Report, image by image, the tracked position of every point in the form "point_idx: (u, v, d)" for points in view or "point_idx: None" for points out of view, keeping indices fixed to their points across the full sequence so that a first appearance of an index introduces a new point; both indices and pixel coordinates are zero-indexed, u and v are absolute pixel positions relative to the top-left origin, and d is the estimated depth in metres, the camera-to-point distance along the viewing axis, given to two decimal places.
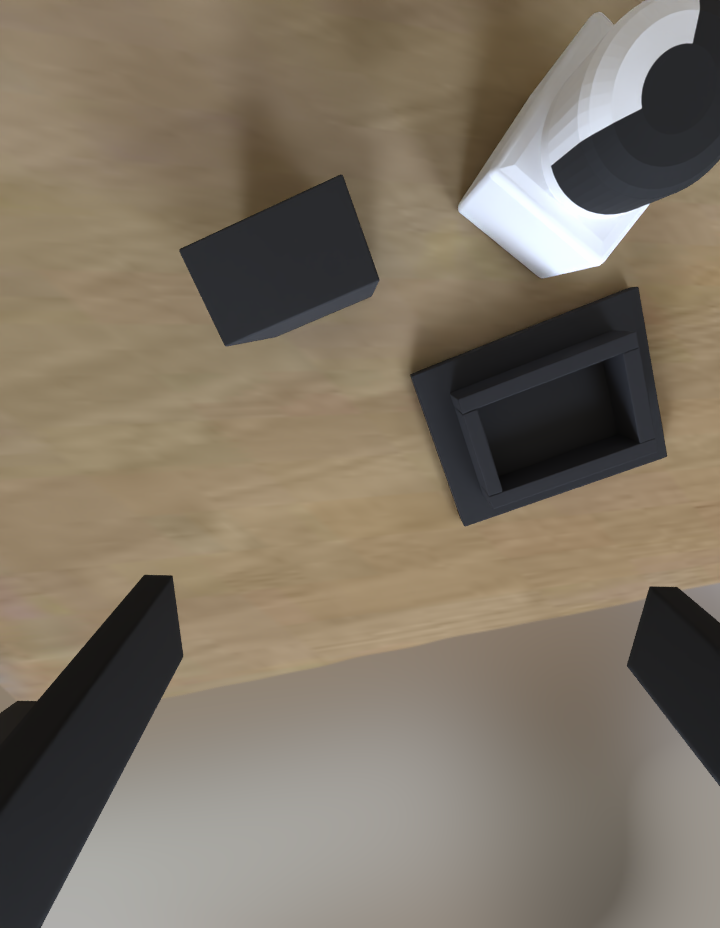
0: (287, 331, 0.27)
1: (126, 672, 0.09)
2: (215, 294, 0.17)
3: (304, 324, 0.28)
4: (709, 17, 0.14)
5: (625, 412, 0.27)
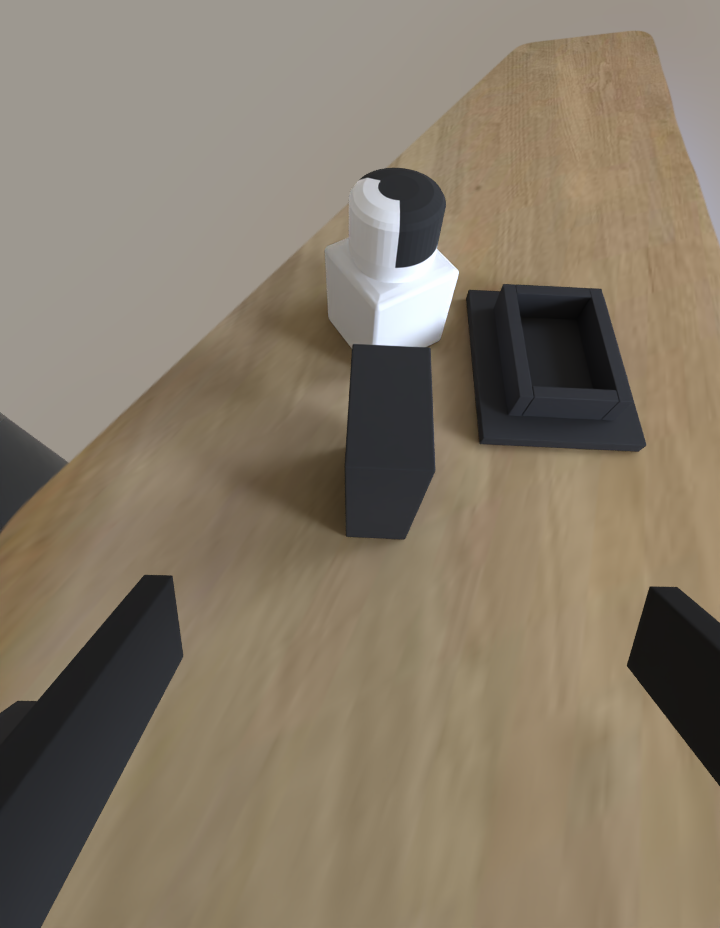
0: None
1: (126, 672, 0.09)
2: (390, 457, 0.19)
3: None
4: (372, 175, 0.26)
5: (561, 305, 0.35)
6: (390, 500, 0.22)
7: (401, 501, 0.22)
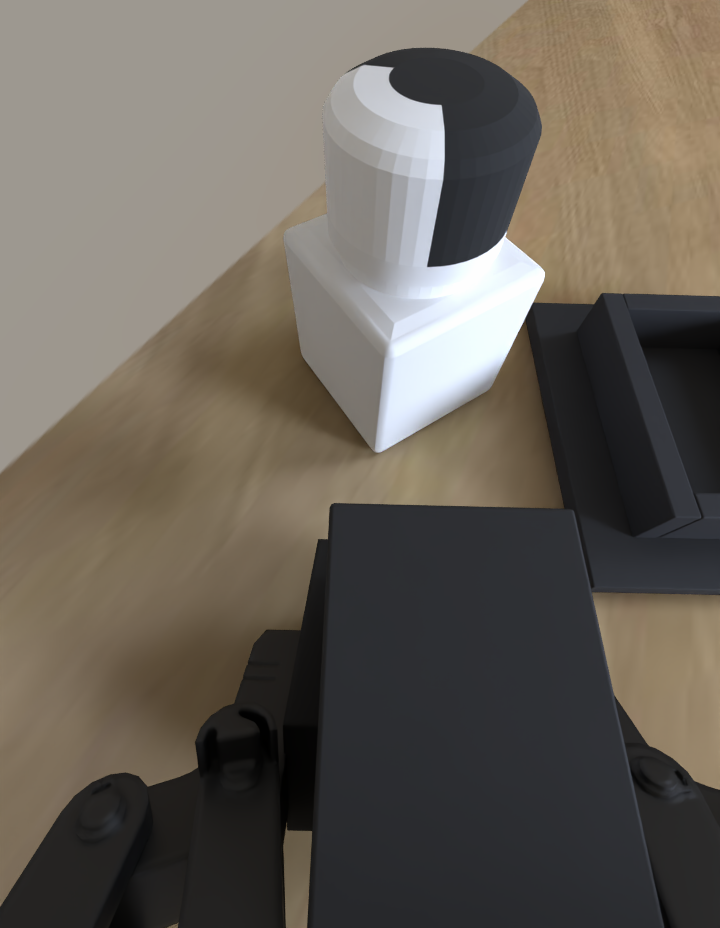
0: None
1: None
2: None
3: None
4: (375, 59, 0.12)
5: (700, 326, 0.20)
6: None
7: None
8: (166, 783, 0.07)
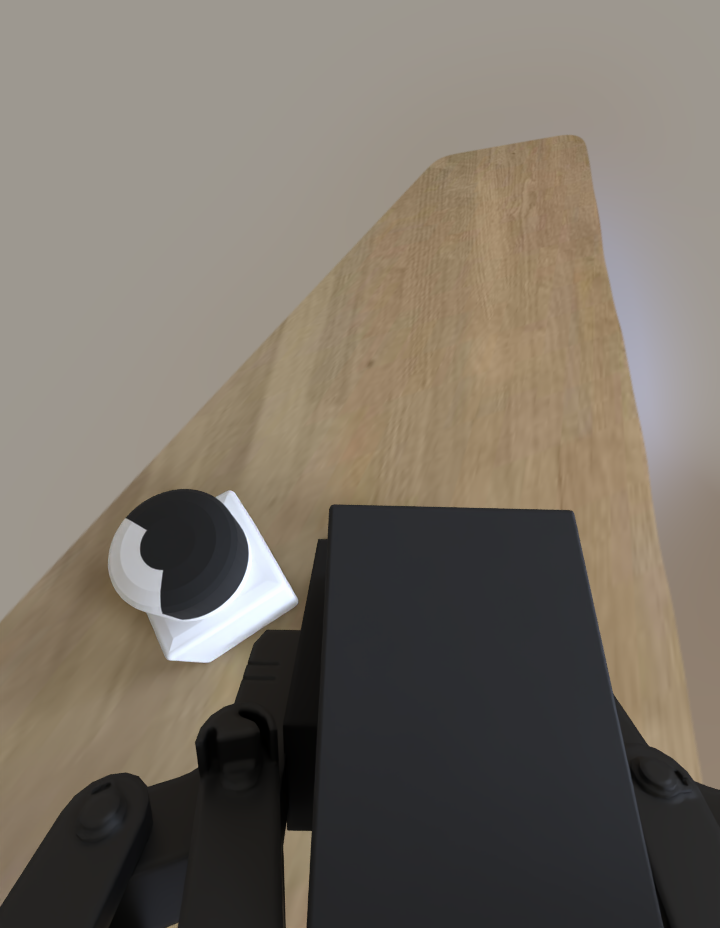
0: None
1: None
2: None
3: None
4: (140, 516, 0.20)
5: None
6: None
7: None
8: (166, 783, 0.07)
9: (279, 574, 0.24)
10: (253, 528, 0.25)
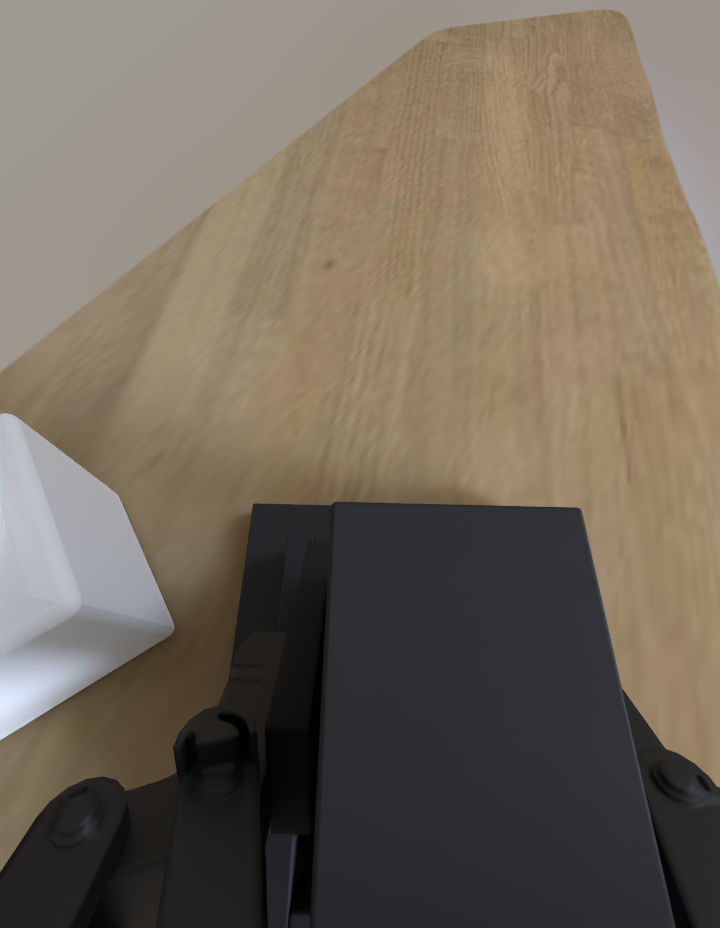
0: None
1: None
2: None
3: None
4: None
5: None
6: None
7: None
8: (146, 787, 0.07)
9: (67, 582, 0.11)
10: (34, 485, 0.12)
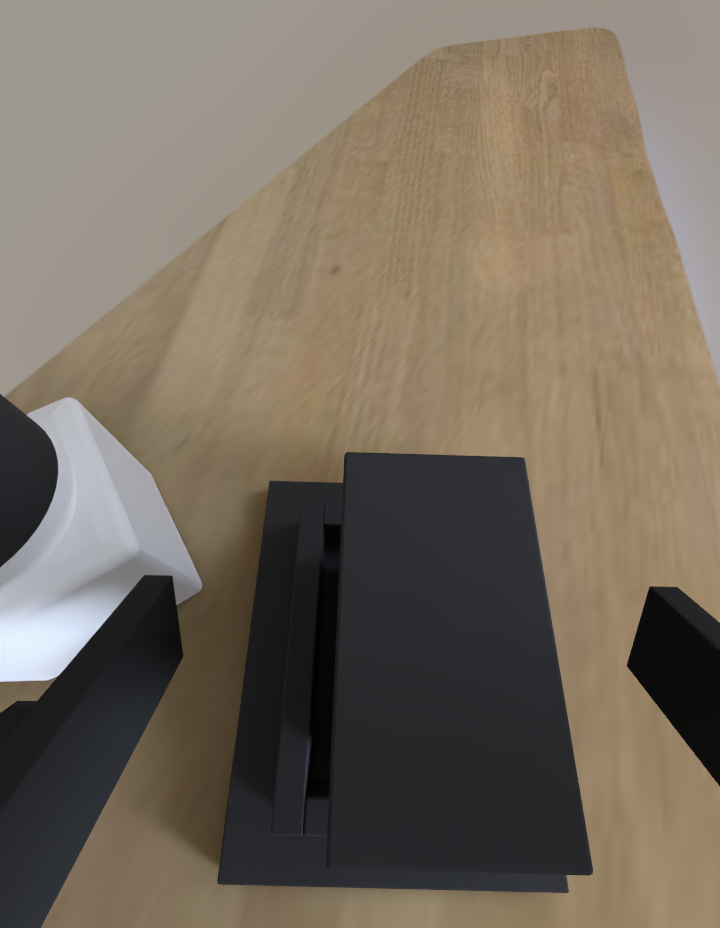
0: None
1: (126, 672, 0.09)
2: (459, 824, 0.06)
3: None
4: None
5: None
6: None
7: None
8: None
9: (128, 531, 0.14)
10: (96, 455, 0.15)
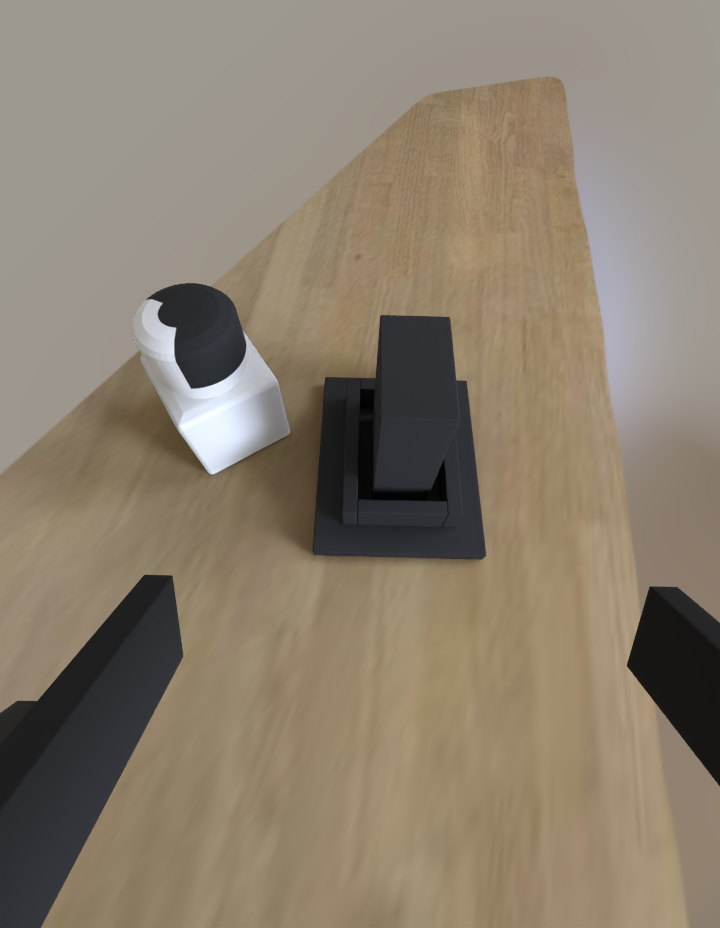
0: None
1: (126, 672, 0.09)
2: (420, 409, 0.21)
3: None
4: (158, 295, 0.25)
5: None
6: (417, 454, 0.24)
7: (427, 455, 0.25)
8: None
9: (272, 373, 0.28)
10: (250, 342, 0.30)
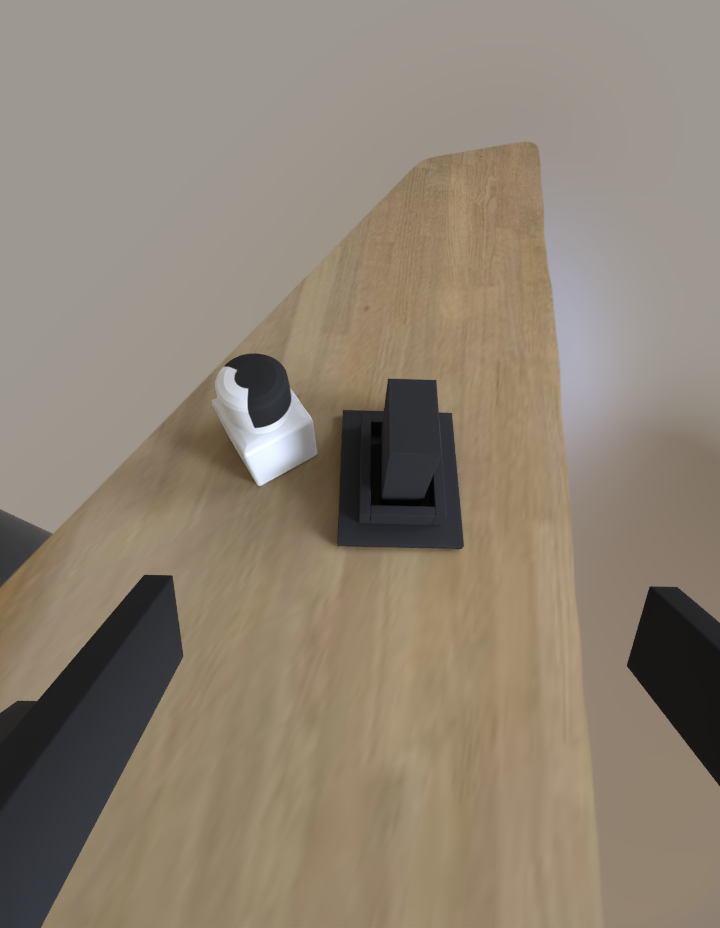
0: None
1: (126, 672, 0.09)
2: (415, 447, 0.32)
3: None
4: (232, 364, 0.35)
5: None
6: (413, 475, 0.35)
7: (420, 475, 0.35)
8: None
9: (308, 414, 0.39)
10: (291, 390, 0.40)
